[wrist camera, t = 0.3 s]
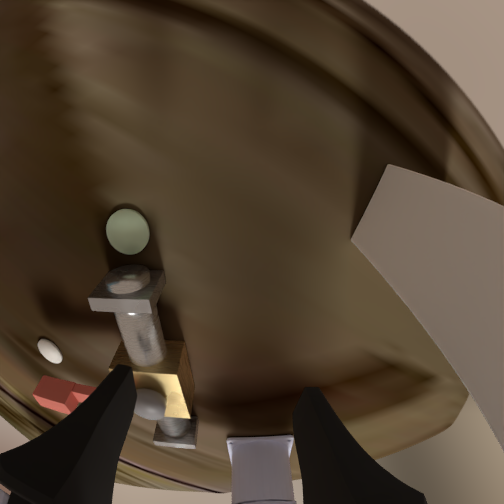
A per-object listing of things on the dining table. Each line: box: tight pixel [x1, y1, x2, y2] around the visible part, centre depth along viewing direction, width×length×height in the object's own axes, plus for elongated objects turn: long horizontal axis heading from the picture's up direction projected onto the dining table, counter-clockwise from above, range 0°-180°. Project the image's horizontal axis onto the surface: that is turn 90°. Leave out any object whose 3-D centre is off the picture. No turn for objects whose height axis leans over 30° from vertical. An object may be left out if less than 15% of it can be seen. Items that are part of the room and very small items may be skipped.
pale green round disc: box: [106, 209, 150, 255], centre depth 18 cm, size 3×3×1 cm
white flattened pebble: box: [38, 339, 63, 363], centre depth 23 cm, size 3×3×1 cm
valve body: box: [88, 264, 199, 449], centre depth 21 cm, size 20×6×4 cm, turn 1°
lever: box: [32, 375, 167, 420], centre depth 18 cm, size 12×3×3 cm, turn 91°
